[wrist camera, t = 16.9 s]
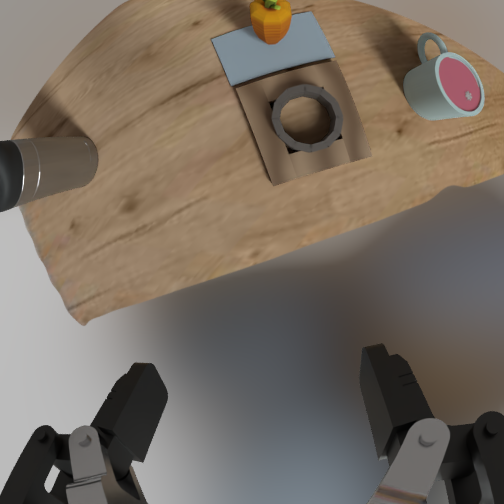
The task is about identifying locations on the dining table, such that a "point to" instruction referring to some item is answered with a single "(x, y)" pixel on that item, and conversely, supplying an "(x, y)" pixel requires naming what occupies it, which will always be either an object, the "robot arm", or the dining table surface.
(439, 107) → the mug
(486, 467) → the robot arm
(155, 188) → the dining table surface
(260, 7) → the carrot
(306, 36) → the slate mat
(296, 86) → the ring stand
